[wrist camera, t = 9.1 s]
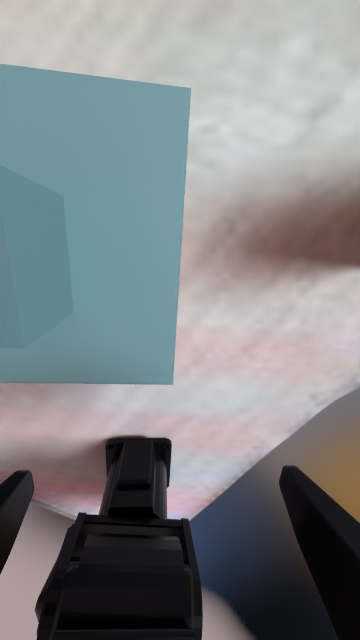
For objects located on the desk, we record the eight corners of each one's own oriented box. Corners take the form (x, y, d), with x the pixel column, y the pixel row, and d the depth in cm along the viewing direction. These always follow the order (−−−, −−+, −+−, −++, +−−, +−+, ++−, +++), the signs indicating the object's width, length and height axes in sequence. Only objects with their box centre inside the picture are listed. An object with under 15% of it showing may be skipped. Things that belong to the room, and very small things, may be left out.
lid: (171, 372, 14) (176, 445, 9) (-60, 368, 12) (-207, 449, 7) (187, 107, 9) (213, -43, 5) (-155, 66, 8) (-610, -193, 3)
